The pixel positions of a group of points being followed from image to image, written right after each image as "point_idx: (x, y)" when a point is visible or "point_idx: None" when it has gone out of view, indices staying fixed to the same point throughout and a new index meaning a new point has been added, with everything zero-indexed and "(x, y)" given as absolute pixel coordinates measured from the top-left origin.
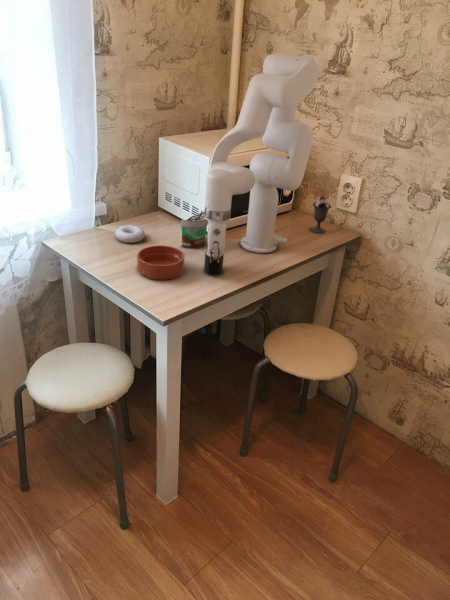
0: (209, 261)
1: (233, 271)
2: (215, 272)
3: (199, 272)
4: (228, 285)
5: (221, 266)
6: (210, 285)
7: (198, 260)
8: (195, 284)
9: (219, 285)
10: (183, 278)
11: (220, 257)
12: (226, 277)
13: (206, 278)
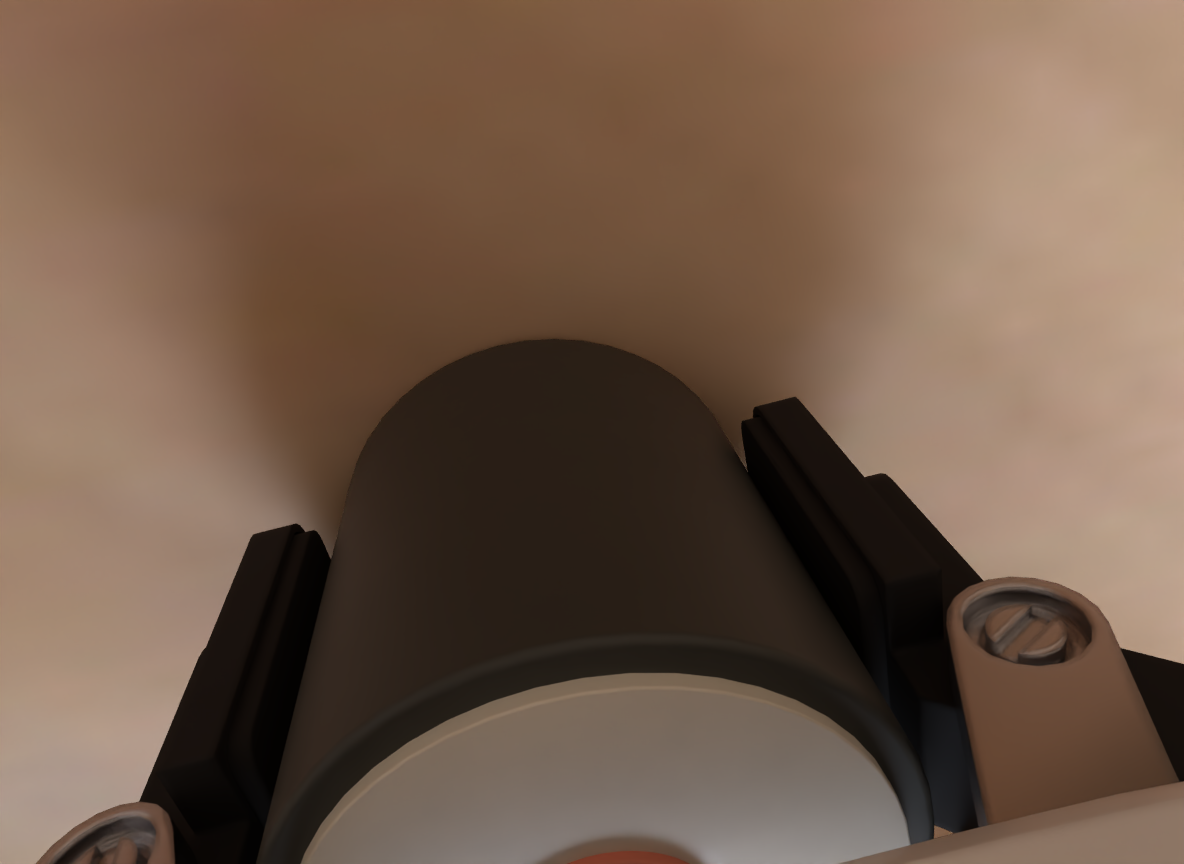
0: None
1: (350, 65)
2: (875, 480)
3: None
4: (1135, 53)
5: (654, 433)
6: (1144, 420)
7: None
8: None
9: (1140, 256)
10: (938, 828)
11: (844, 675)
12: (747, 184)
13: None
